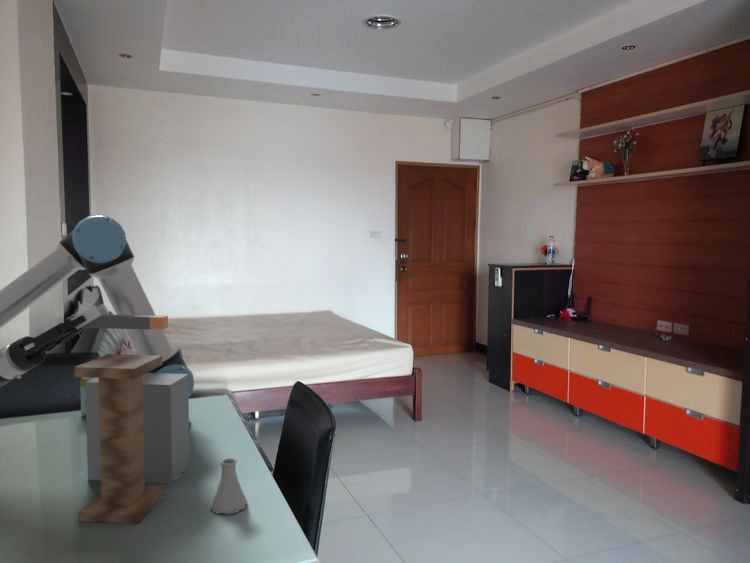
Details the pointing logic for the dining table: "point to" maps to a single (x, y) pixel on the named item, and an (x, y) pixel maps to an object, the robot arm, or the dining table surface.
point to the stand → (121, 439)
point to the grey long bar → (127, 322)
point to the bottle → (83, 395)
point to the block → (149, 427)
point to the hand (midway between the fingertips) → (101, 309)
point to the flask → (228, 490)
